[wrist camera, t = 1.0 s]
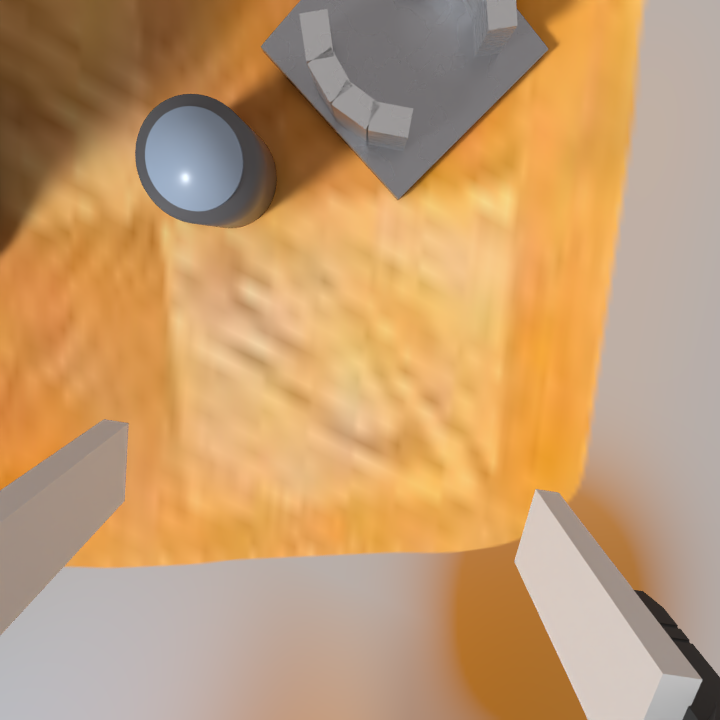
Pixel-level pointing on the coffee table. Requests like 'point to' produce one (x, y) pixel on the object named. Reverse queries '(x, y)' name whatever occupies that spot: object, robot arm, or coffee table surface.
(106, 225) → the coffee table surface
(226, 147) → the grey cylinder
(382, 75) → the grey square base
